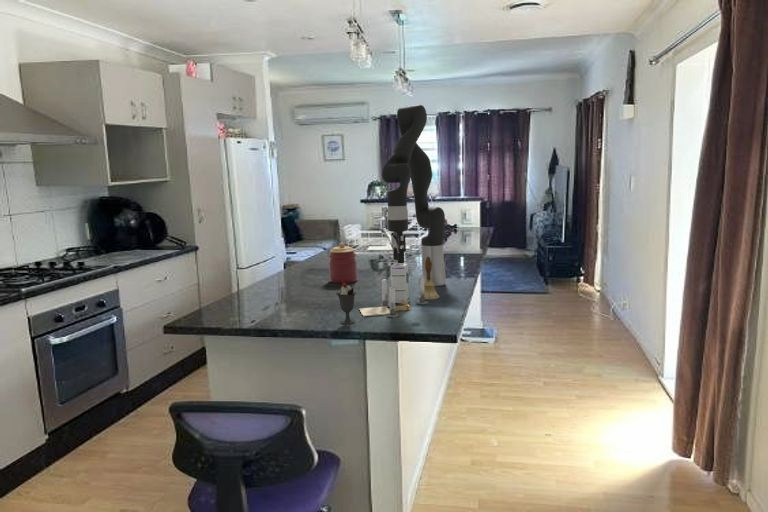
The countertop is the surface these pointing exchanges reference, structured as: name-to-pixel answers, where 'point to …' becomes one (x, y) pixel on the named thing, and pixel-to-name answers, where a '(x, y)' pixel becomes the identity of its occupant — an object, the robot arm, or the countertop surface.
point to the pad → (374, 311)
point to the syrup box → (400, 282)
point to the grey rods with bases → (404, 303)
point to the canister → (342, 264)
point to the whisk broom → (429, 282)
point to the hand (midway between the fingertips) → (398, 261)
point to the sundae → (346, 301)
